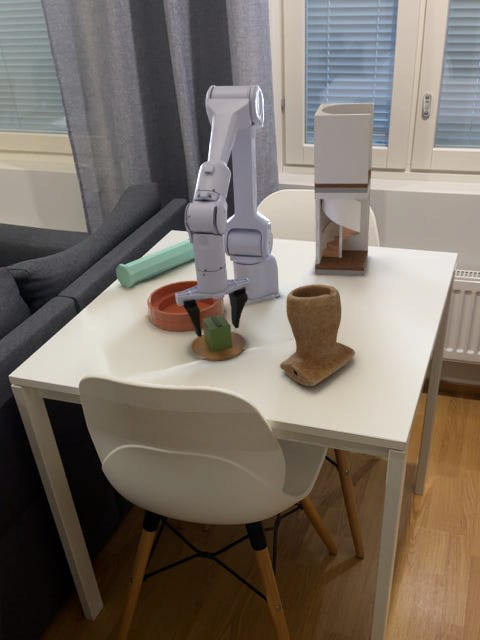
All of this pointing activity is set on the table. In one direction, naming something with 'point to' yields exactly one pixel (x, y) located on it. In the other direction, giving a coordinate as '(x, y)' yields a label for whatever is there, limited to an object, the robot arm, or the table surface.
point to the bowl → (179, 307)
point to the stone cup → (315, 334)
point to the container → (154, 263)
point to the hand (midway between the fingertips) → (217, 330)
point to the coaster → (204, 351)
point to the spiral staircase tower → (342, 186)
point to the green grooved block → (217, 333)
